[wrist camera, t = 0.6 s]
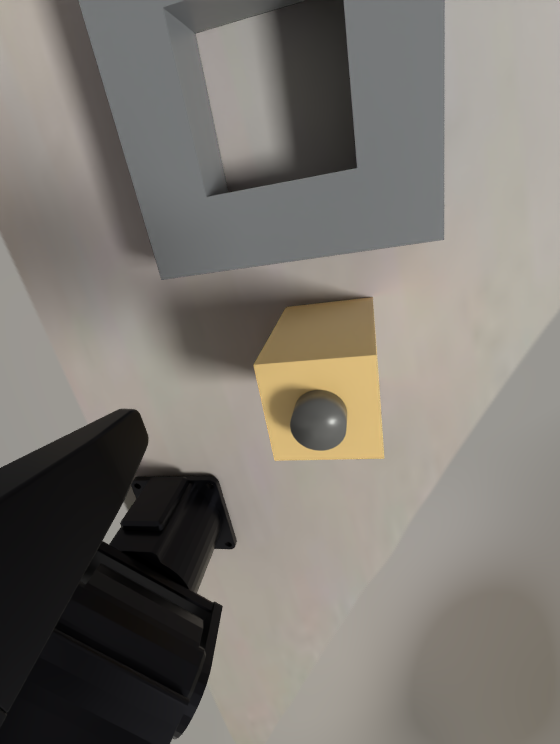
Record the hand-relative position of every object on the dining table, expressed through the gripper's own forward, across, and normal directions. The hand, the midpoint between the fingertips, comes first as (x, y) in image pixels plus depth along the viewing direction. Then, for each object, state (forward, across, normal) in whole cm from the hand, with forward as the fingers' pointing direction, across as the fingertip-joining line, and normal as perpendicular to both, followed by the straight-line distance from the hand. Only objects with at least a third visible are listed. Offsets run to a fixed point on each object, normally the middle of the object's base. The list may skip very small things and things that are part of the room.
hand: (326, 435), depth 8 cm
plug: (+12, +2, +4) cm, 13 cm away
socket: (+13, +4, -7) cm, 15 cm away
